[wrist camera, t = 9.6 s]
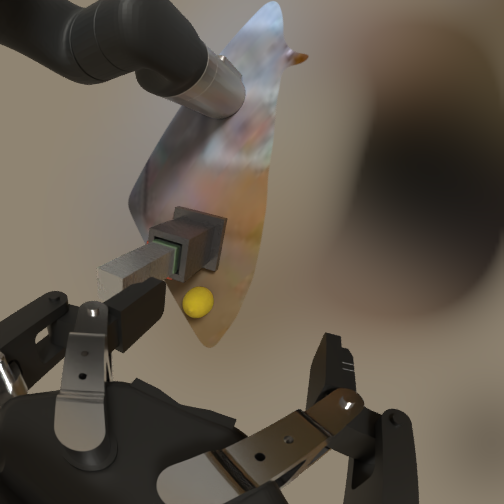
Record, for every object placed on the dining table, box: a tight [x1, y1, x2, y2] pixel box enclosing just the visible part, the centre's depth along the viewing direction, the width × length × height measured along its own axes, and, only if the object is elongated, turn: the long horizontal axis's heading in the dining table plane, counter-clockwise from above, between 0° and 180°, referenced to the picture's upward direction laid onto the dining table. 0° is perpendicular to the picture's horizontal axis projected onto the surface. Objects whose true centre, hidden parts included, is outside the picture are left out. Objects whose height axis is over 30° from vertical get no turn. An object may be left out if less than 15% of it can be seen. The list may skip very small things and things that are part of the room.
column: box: [97, 238, 182, 301], centre depth 37 cm, size 4×4×19 cm
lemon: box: [183, 287, 214, 318], centre depth 51 cm, size 6×6×8 cm
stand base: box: [147, 206, 227, 283], centre depth 46 cm, size 10×10×12 cm
